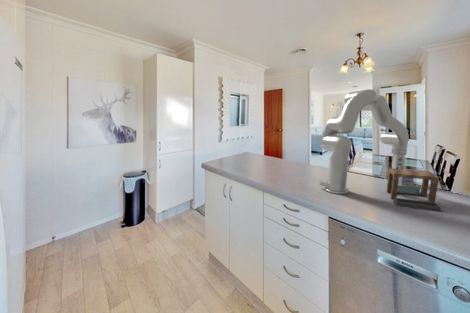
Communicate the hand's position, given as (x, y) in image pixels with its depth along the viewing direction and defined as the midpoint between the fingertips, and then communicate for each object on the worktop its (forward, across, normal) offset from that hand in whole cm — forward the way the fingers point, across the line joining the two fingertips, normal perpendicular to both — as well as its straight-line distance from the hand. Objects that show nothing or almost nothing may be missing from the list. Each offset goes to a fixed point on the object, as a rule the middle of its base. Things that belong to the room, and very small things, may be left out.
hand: (395, 179), depth 138 cm
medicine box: (+2, -18, 0) cm, 19 cm away
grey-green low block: (+1, -12, 0) cm, 12 cm away
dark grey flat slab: (+2, -42, 0) cm, 43 cm away
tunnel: (+2, -30, 0) cm, 31 cm away
